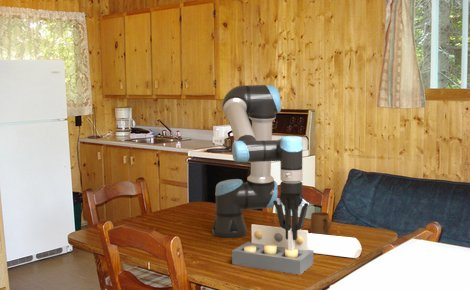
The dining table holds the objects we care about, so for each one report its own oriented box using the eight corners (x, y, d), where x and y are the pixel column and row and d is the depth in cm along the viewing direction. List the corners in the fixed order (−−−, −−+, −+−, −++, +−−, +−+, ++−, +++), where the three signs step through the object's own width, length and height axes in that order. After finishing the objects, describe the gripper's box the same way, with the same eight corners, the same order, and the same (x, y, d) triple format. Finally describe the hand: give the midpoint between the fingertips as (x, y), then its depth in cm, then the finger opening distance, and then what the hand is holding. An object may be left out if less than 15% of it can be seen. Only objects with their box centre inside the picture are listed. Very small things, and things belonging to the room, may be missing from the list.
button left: (242, 258, 194) (241, 247, 193) (247, 255, 197) (247, 244, 197) (253, 260, 192) (252, 249, 191) (258, 257, 195) (258, 246, 195)
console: (232, 264, 193) (231, 231, 192) (248, 254, 204) (248, 223, 203) (300, 275, 181) (300, 240, 180) (313, 264, 192) (313, 231, 191)
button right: (283, 261, 186) (283, 250, 186) (287, 257, 190) (287, 246, 189) (295, 263, 184) (295, 251, 184) (299, 259, 188) (299, 248, 187)
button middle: (262, 257, 190) (262, 246, 189) (267, 254, 194) (267, 243, 193) (273, 259, 188) (273, 248, 187) (278, 256, 192) (278, 245, 191)
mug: (337, 239, 224) (338, 217, 223) (322, 241, 222) (322, 218, 221) (323, 232, 235) (323, 211, 235) (307, 234, 233) (307, 212, 232)
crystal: (295, 243, 205) (358, 251, 195) (300, 230, 210) (362, 237, 200) (298, 257, 209) (360, 265, 199) (303, 244, 214) (364, 251, 204)
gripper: (269, 181, 184) (269, 249, 186) (305, 184, 178) (305, 254, 180) (278, 178, 190) (278, 243, 193) (313, 181, 184) (313, 248, 187)
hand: (291, 248), depth 186 cm, fingers closed
